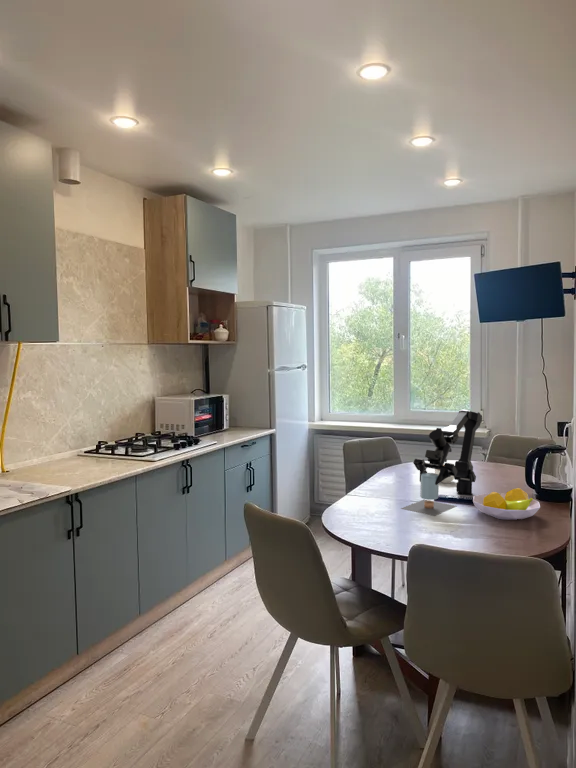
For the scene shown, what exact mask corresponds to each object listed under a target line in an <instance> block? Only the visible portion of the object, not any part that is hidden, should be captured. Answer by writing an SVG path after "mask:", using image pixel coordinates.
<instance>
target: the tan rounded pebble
mask: <svg viewBox="0 0 576 768" xmlns="http://www.w3.org/2000/svg"><path fill="white" fill-rule="evenodd" d="M425 500H426V501H424V507H425V508H428V509H432V508H434V502H435V501H434V500H427V499H425Z"/></svg>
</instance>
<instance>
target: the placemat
mask: <svg viewBox="0 0 576 768" xmlns="http://www.w3.org/2000/svg"><path fill="white" fill-rule="evenodd" d="M426 500H427V499H421V500H419V501H416V502H414V503H411V504H408V505H406V506H403V507H401V508H400V509H401V510H405V511H409V512H414V513H419V514H423V515H427V516H432V517H436V516H438V515H440V514H442V513H445V512H447V511H449V510H451V509H454V508H456V507H457V505H453V504H448V503H443V502H438V501H434V508H432V509H428V508H425V507H424V501H426Z"/></svg>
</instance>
